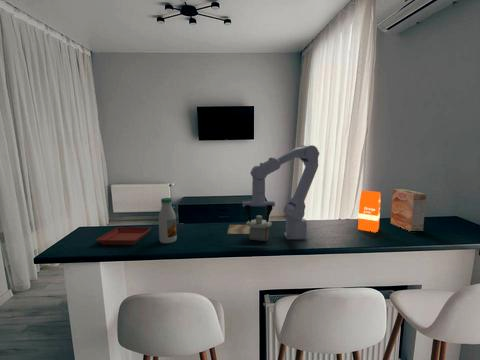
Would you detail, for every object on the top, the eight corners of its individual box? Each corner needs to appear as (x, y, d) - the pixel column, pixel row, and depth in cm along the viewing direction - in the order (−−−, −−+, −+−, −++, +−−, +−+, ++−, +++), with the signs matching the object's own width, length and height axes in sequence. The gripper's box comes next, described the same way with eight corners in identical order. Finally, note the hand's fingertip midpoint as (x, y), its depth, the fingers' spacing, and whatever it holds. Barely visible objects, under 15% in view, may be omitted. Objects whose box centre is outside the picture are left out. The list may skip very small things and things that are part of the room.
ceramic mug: (266, 244, 113) (267, 227, 112) (248, 242, 115) (248, 226, 114) (270, 236, 123) (270, 221, 122) (253, 235, 125) (253, 219, 124)
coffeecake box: (389, 223, 141) (392, 188, 139) (401, 222, 142) (404, 188, 140) (410, 232, 127) (413, 194, 124) (423, 231, 127) (427, 193, 125)
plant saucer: (117, 232, 130) (117, 226, 130) (152, 233, 129) (151, 227, 128) (96, 246, 112) (95, 239, 112) (135, 247, 111) (135, 240, 111)
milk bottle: (161, 245, 113) (159, 201, 110) (158, 239, 119) (156, 197, 117) (178, 241, 116) (176, 199, 113) (174, 236, 123) (172, 196, 120)
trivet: (255, 226, 137) (255, 224, 137) (255, 235, 123) (256, 233, 123) (229, 226, 138) (229, 224, 137) (227, 235, 124) (227, 233, 124)
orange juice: (360, 225, 138) (362, 189, 135) (378, 228, 133) (381, 191, 130) (357, 229, 132) (359, 191, 129) (376, 232, 126) (379, 193, 124)
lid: (269, 220, 123) (269, 212, 122) (273, 227, 111) (273, 219, 111) (245, 220, 122) (245, 213, 122) (247, 228, 111) (247, 220, 110)
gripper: (273, 190, 118) (273, 219, 120) (242, 190, 118) (242, 218, 120) (275, 193, 111) (275, 223, 113) (242, 193, 111) (242, 223, 113)
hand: (258, 221), depth 116 cm, fingers open, 7 cm apart
